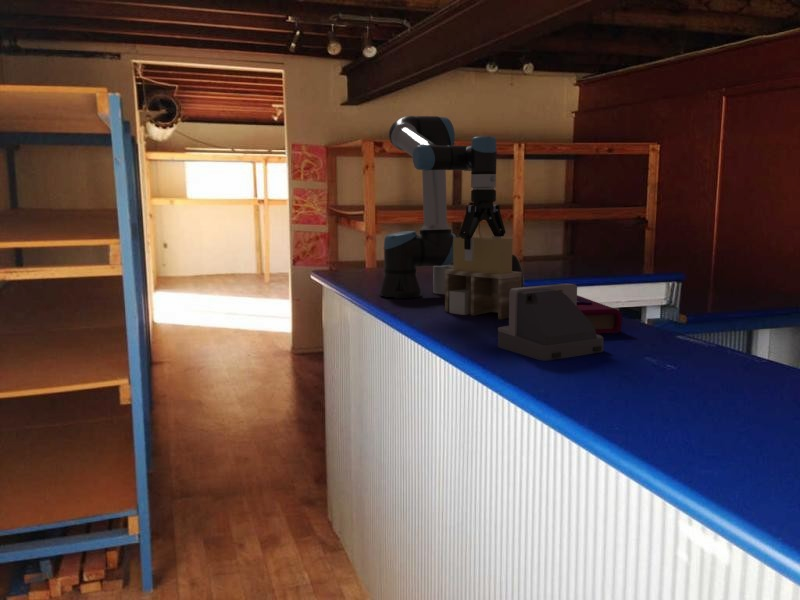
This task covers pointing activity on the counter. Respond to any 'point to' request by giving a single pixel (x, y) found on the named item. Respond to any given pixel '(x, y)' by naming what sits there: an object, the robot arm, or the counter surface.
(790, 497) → the counter surface
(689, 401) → the counter surface
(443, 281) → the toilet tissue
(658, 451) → the counter surface
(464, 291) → the box
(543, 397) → the counter surface
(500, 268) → the box
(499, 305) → the shelf unit
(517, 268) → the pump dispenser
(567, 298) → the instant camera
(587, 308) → the book
